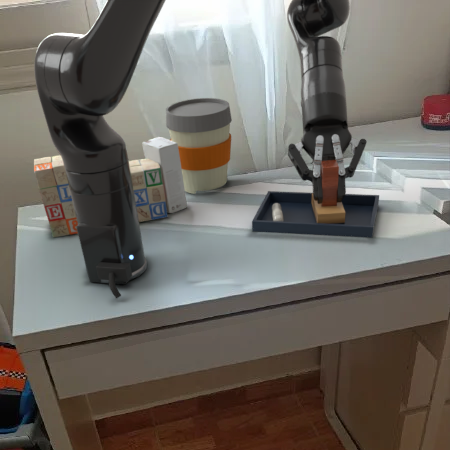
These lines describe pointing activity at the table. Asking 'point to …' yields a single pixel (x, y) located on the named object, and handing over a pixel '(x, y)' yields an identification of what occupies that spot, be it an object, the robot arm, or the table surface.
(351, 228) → the tray
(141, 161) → the stack of blocks
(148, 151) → the cosmetic box
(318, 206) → the wooden block on base
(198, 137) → the reusable coffee cup
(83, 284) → the table surface
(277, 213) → the chalk
